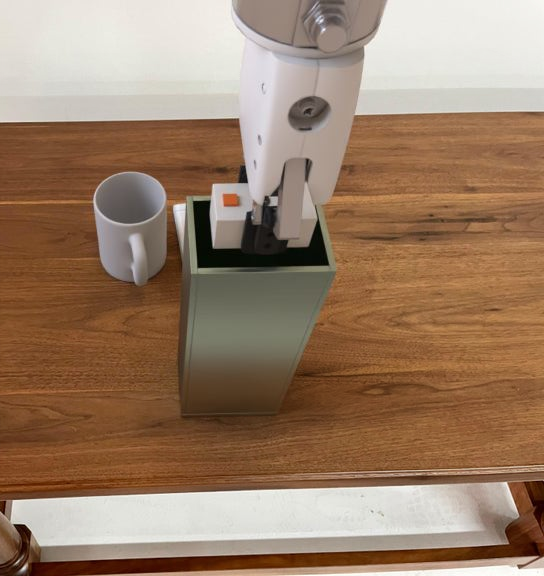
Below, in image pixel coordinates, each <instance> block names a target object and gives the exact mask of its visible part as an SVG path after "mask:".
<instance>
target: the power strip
mask: <svg viewBox="0 0 544 576" xmlns="http://www.w3.org/2000/svg"><path fill="white" fill-rule="evenodd" d="M210 196H211V206H210V221H211V232H212V243H213V249H224V248H241V240H242V235H243V229H244V224H245V218H246V213H247V212H249V211H252V205H253V199H252V197H251V194H250V190H249V184H248V183H238V182H235V183H212V187H211V195H210ZM277 203H278V197H267V202H265V206H277ZM317 219H318V218H317V214H316V210H315V205H313V203H312V199H311V196H310V192H309V188H308V185H307V181H305V185H304V196H303V207H302V218H301V229H300V237H299V239H298V240H289V241H288V244H287V247H308V246H309V243H310V240H311V237H312V234H313V231H314V228H315V225H316V222H317Z"/></svg>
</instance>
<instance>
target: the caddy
mask: <svg viewBox="0 0 544 576" xmlns="http://www.w3.org/2000/svg"><path fill="white" fill-rule="evenodd" d="M211 196H212V195H186V196H185V203H186V209H185V227H184V246H183V263H182V267H181V268H182V269H181V284H180V304H179V324H178V342H177V370H178V371H177V372H178V376H177V377H178V395H179V397H178V399H179V417H180V418H203V417H204V418H206V417H207V418H208V417H213V418H214V417H250V416H251V417H253V416H254V417H257V416H278V414H279V411H280V409H281V406H282V404H283V403H284V402H283V401H284V399H285V397H286V394H287V392H288V390H289V388H290V385H291V382H292V380H293V377H294V376H295V373H296V371H297V368H298V366H299V363H300V361H301V358H302V356H303V354H304V352H305V349H306V347H307V345H308V342H309V340H310V337H311V335H312V333H313V330H314V328H315V325H316V323H317V321H318V318H319V315H320V313H321V312H322V308H323V306H324V304H325V301H326V299H327V298H328V294H329V292H330V289H331V288H332V285H333V282H334V280H335V278H336V276H337V273H338V268H337V264H336V259H335V254H334V251H333V246H332V242H331V238H330V234H329V228H328V224H327V221H326V217H325V212H324V208H323V207H324V206H323V205H315V210H316V214H317V218H318V219H317V222H316V225H315V228H314V231H313V234H312V237H311V240H310V243H309V246H308V247H287V248H286V251H285V252H283V253H274V254H269V255H261V254H244V253H242V252H241V248H224V249H213V243H212V232H211V221H210V206H211Z"/></svg>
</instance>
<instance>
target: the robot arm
mask: <svg viewBox="0 0 544 576" xmlns="http://www.w3.org/2000/svg"><path fill="white" fill-rule="evenodd" d="M388 1H389V0H231V6H230V15H231V19H232V21H233V23H234V25H235V27H236V28H237V30H239V31H240V33H241V34H242V35H243V37H245V38H244V44H243V50H242V58H241V65H240V72H239V73H240V74H239V83H238V97H237V98H238V99H237V105H238V119H239V120H238V121H239V129H240V137H241V144H242V163H243V165H239V172H238V178H237V183H248V184H249V190H250V194H251V197H252V199H253V205H252V211H249V212H247V213H246V218H245V224H244V229H243V235H242V240H241V252H242V253H244V254H261V255H269V254H274V253H283V252H285V251H286V248H287V244H288V241H289V240H298V239H299V237H300V229H301V218H302V207H303V196H304V185H305V182H307V185H308V188H309V192H310V196H311V199H312V203H313V205H322V206H323V205H326V204H328V203H329V202H330V200H331V199H332V197H333V195H334V193H335V190H336V186H337V182H338V179H339V176H340V172H341V170H342V169H341V168H342V165H343V161H344V158H345V153H346V152H347V151H346V150H347V146H348V143H349V140H350V135H351V133H352V132H351V131H352V127H353V124H354V120H355V114H356V110H357V106H358V101H359V97H360V90H361V85H362V78H363V71H364V64H365V46H367V45H368V44H369V43H370V42H371V41H373V39H374V38H375V37H376V35H377V34H378V31H379V29H380V26H381V22H382V20H383V17H384V14H385V11H386V7H387V5H388ZM267 197H278V203H277V206H265V202H267Z"/></svg>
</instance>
